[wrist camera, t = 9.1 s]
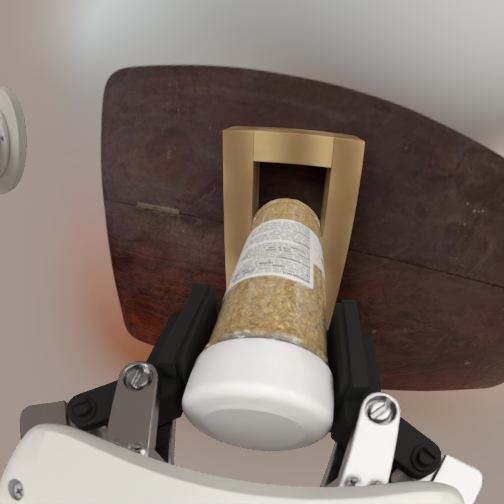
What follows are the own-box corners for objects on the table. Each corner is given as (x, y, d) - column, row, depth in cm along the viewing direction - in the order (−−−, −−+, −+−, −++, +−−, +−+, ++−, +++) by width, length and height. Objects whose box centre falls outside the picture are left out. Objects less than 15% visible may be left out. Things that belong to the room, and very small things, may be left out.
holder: (235, 297, 34) (227, 319, 31) (233, 126, 24) (222, 130, 21) (326, 307, 33) (328, 330, 29) (355, 135, 23) (365, 141, 19)
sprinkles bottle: (311, 264, 19) (305, 460, 8) (247, 250, 20) (181, 436, 8) (328, 203, 17) (361, 409, 6) (257, 188, 17) (171, 373, 6)
